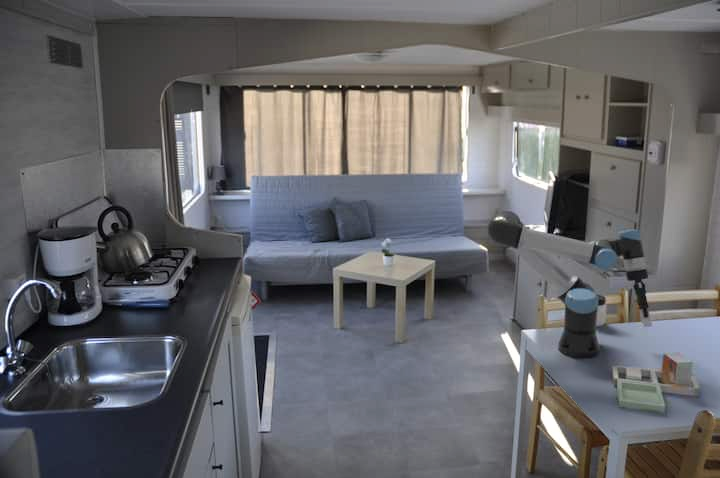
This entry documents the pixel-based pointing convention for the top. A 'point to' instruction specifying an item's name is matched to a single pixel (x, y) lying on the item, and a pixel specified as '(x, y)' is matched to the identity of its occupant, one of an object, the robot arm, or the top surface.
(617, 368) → the beige divided frame
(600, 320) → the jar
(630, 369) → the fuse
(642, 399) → the tray
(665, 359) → the small box
